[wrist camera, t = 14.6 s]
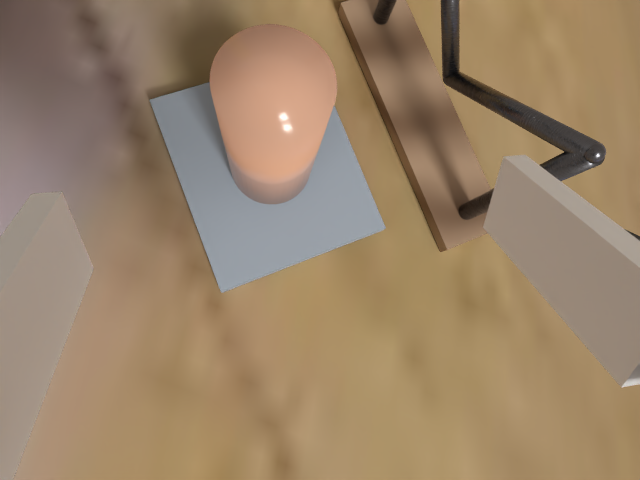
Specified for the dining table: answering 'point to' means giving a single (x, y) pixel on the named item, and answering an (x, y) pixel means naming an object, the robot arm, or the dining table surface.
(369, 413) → the dining table surface
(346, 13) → the wire base
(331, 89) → the peach rounded cylinder
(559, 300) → the robot arm
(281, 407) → the dining table surface
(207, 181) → the pad
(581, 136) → the bent wire
